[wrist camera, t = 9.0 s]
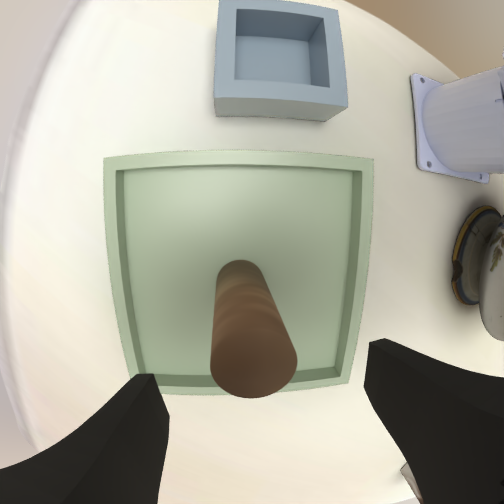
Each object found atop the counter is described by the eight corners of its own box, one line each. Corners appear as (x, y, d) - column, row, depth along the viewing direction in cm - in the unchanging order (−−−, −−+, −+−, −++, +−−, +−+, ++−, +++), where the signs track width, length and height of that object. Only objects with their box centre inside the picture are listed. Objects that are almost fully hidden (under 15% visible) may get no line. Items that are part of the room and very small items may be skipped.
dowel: (262, 257, 18) (297, 323, 9) (265, 301, 18) (297, 391, 10) (213, 262, 17) (203, 334, 9) (219, 306, 18) (216, 401, 9)
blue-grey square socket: (319, 35, 15) (337, 9, 11) (324, 121, 17) (348, 107, 13) (219, 27, 14) (219, -3, 11) (215, 116, 16) (213, 97, 12)
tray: (359, 161, 17) (373, 159, 15) (339, 369, 21) (348, 383, 19) (115, 160, 16) (103, 157, 14) (140, 376, 19) (134, 391, 17)
